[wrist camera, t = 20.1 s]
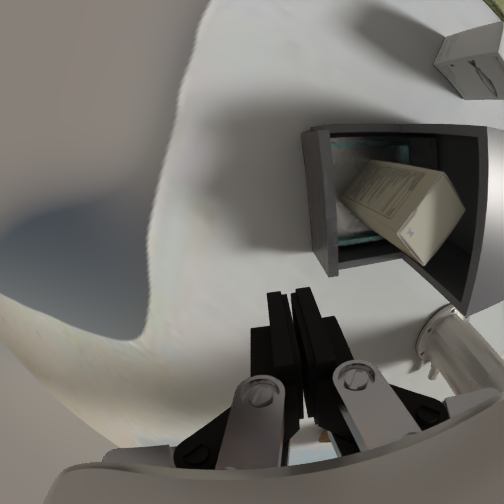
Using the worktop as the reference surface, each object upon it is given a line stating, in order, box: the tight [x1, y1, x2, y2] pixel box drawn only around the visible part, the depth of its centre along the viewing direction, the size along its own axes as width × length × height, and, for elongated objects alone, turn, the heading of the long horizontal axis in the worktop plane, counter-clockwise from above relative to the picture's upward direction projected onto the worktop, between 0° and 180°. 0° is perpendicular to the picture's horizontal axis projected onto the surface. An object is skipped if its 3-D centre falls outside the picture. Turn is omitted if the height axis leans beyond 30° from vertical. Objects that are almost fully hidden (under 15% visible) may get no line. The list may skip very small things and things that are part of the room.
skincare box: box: [339, 160, 465, 266], centre depth 22 cm, size 6×4×12 cm
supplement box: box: [433, 21, 504, 100], centre depth 17 cm, size 7×7×13 cm
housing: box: [311, 124, 504, 317], centre depth 21 cm, size 15×17×17 cm
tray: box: [301, 130, 438, 277], centre depth 26 cm, size 14×17×7 cm
